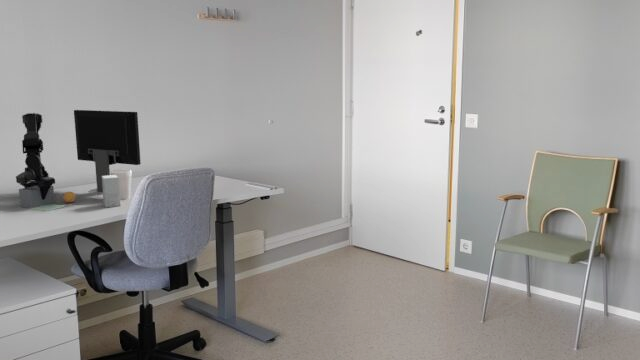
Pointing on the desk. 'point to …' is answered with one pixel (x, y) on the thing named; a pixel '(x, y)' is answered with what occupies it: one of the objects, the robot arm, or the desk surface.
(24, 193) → the large grey box
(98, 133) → the computer monitor
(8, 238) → the desk surface
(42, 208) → the tape square
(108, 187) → the small box
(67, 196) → the ball
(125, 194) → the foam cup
